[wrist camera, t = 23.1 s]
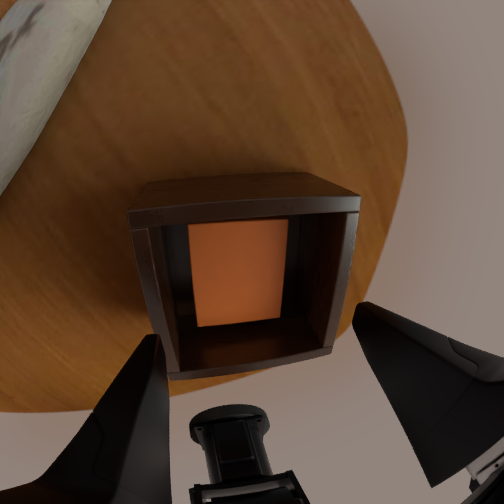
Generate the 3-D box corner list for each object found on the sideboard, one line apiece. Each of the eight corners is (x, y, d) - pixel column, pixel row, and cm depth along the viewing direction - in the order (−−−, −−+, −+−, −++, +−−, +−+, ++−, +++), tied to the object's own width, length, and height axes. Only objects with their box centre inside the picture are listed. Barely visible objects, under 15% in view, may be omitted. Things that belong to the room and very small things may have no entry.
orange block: (269, 295, 15) (280, 317, 13) (195, 302, 14) (197, 327, 12) (274, 205, 13) (289, 218, 11) (187, 209, 12) (187, 224, 10)
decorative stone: (-42, 200, 8) (-74, 220, 5) (79, -41, 4) (60, -67, 1) (18, 243, 10) (-13, 273, 8) (162, -21, 7) (157, -58, 4)
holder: (299, 302, 16) (331, 354, 12) (170, 319, 15) (169, 381, 11) (310, 172, 13) (361, 195, 9) (147, 182, 11) (126, 211, 7)
